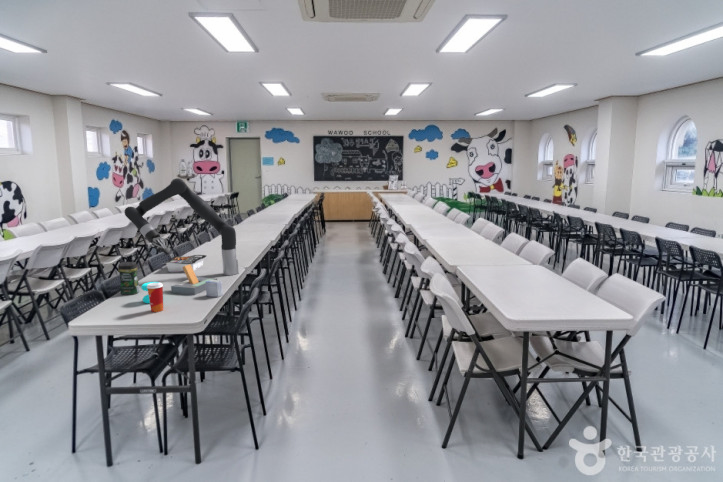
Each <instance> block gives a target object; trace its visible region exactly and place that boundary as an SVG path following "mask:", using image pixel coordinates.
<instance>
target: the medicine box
mask: <svg viewBox="0 0 723 482" xmlns="http://www.w3.org/2000/svg"><path fill="white" fill-rule="evenodd" d="M205 283H206V290H205V293H206V294H205V295H206V297H212V298H220V297H222V296H223V294H224V293H223V292H224V291H223V283H222V280H221V279H220V280H219V279H217V280H208V281H206V282H205ZM219 296H220V297H219Z"/></svg>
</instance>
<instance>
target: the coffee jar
mask: <svg viewBox="0 0 723 482" xmlns="http://www.w3.org/2000/svg"><path fill="white" fill-rule="evenodd" d="M117 269H118V270H117V271H118V274H119V276H120V289H119V291H120V294H121V295H127V296H130V295H136V294H139V293H140V291H141V290H140V285H139V280H138V273H137V271H138V265H137V263H136V261H122V262H120V263H118V266H117Z"/></svg>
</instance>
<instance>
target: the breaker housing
mask: <svg viewBox="0 0 723 482" xmlns="http://www.w3.org/2000/svg"><path fill="white" fill-rule="evenodd" d="M196 277H197V279H198V281H199V282H198V283H196V284H190V282H189V280H188V279H186V280H184V281H182V282H178V283H176V284H174V285H171V286H170V289H171V294H179V295H191V296H192V295H193V296H195V295H197V294H201V293H203V292H206V283H205V282H206V281H208V280H218V278H215V277H214V278H213V277H202V276H201V277H199V276H196Z"/></svg>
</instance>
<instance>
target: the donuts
mask: <svg viewBox="0 0 723 482" xmlns="http://www.w3.org/2000/svg"><path fill="white" fill-rule="evenodd" d="M157 282H158V283H159V281H149V282H145V283H143V284H142V285H141V286H140V288H141V290H142V291H144V292H148V288H147V285H148V284H150V283H157ZM142 302H143V303H144V304H150V300H149V294H146V295H144V296H143V297H142Z"/></svg>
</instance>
